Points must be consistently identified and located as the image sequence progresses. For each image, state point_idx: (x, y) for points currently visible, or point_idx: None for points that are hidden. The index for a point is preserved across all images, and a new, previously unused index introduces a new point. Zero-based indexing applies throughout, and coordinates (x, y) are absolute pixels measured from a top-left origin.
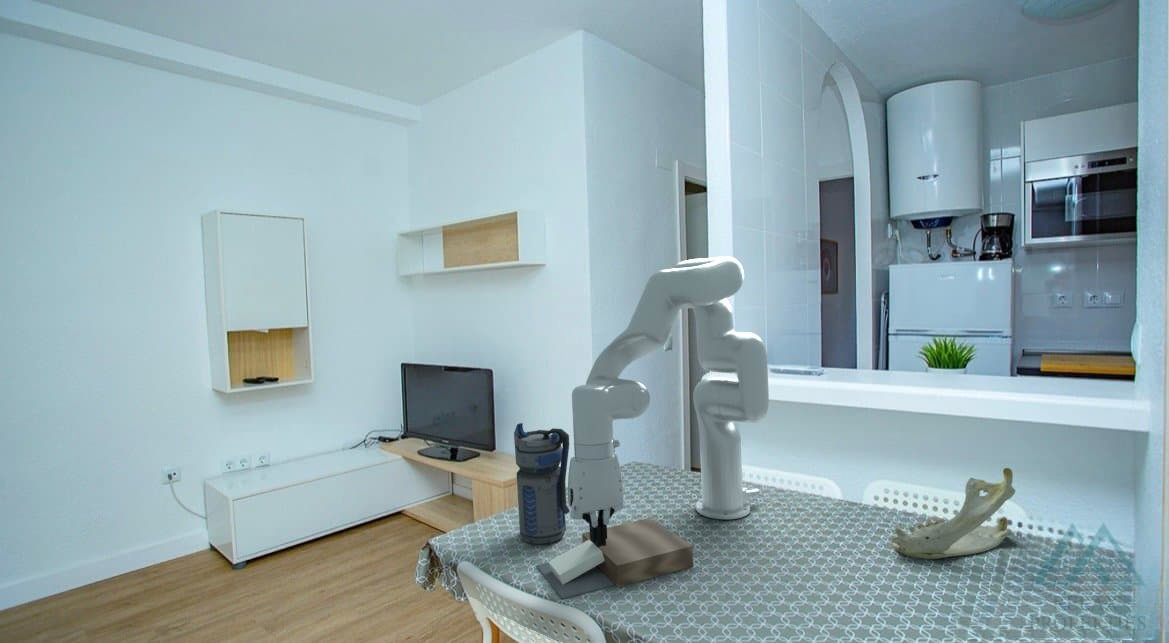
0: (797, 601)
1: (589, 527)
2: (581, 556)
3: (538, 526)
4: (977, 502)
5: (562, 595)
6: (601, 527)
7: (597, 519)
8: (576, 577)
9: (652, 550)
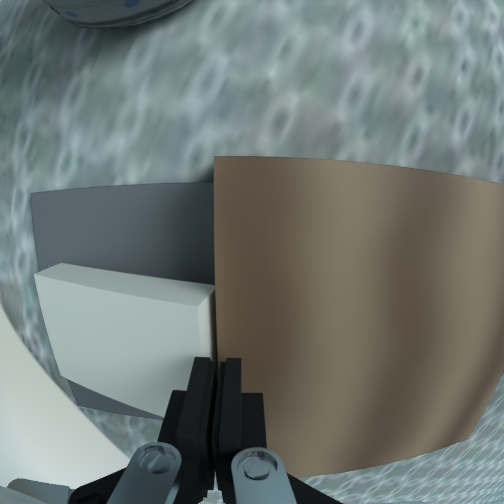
0: (435, 496)
1: (159, 437)
2: (130, 377)
3: (50, 3)
4: None
5: (78, 397)
6: (219, 488)
7: (220, 474)
8: None
9: (383, 445)
